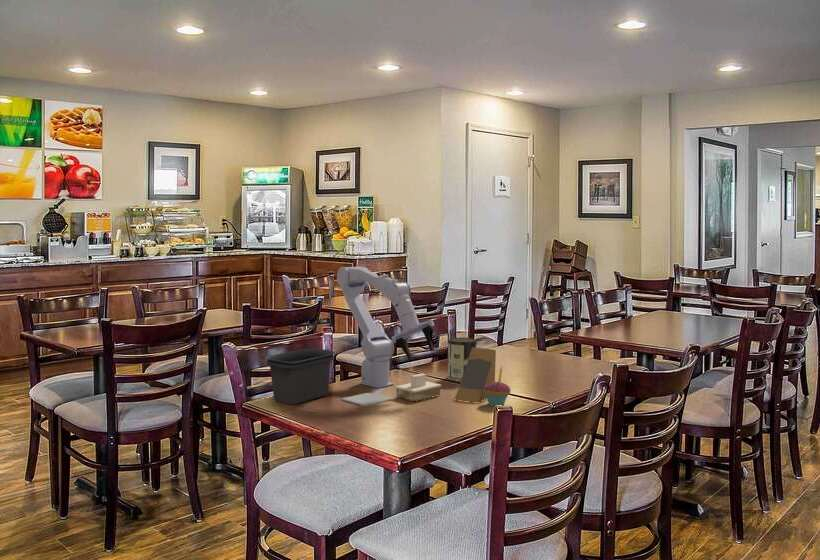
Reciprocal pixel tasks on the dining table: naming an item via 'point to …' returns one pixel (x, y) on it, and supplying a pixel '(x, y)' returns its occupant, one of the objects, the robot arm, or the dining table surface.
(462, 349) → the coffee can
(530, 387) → the dining table surface
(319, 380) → the storage bin
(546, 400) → the dining table surface
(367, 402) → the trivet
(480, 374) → the sandwich container
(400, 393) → the box
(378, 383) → the robot arm
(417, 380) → the lid
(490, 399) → the cupcake
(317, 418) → the dining table surface
